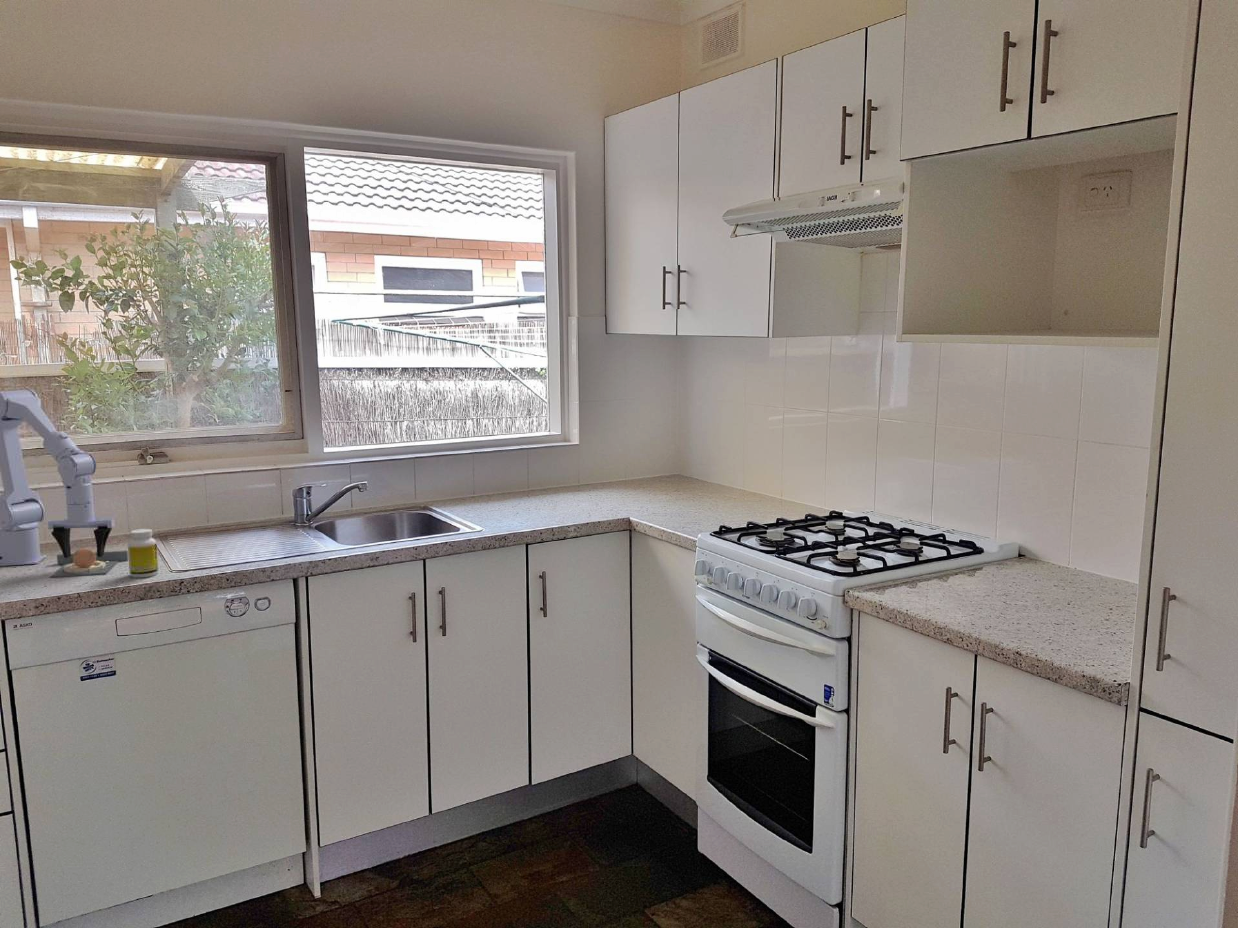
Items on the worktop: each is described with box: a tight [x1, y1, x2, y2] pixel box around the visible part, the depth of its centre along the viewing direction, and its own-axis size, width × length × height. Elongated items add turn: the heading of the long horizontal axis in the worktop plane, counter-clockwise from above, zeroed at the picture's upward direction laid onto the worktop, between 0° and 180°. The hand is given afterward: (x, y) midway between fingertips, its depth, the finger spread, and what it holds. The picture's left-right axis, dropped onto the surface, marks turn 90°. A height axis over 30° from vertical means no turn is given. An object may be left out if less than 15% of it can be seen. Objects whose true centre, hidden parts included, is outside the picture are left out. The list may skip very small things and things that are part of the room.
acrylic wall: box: [56, 549, 129, 566], centre depth 235 cm, size 16×1×2 cm, turn 107°
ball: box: [73, 547, 96, 568], centre depth 227 cm, size 5×5×5 cm
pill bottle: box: [127, 528, 159, 579], centre depth 223 cm, size 6×6×11 cm
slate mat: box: [50, 561, 119, 579], centre depth 228 cm, size 12×12×1 cm
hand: (84, 556), depth 227 cm, fingers open, 7 cm apart
